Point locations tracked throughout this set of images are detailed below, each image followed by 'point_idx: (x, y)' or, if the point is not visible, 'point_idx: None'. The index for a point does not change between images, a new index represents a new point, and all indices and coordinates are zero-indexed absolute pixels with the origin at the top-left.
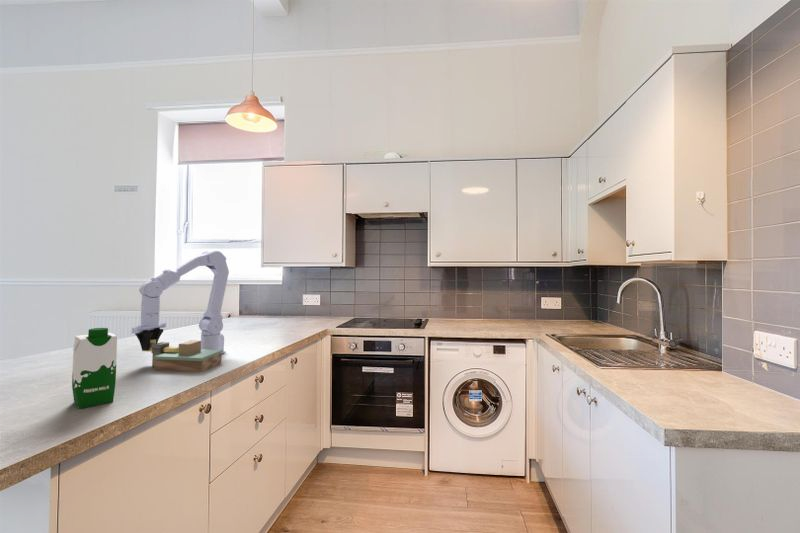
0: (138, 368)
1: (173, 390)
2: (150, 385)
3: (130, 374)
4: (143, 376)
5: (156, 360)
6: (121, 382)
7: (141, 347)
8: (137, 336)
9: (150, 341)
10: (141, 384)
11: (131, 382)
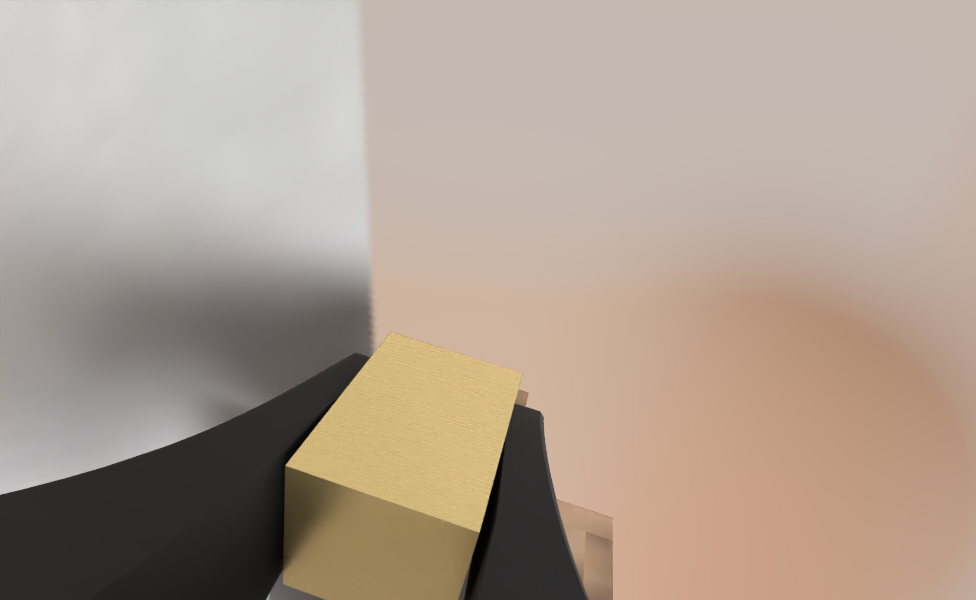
0: (345, 266)
1: None
2: (30, 473)
3: (164, 285)
4: (147, 392)
5: None
6: (3, 313)
7: (318, 375)
8: (25, 510)
9: (303, 571)
10: (24, 431)
11: (27, 370)
